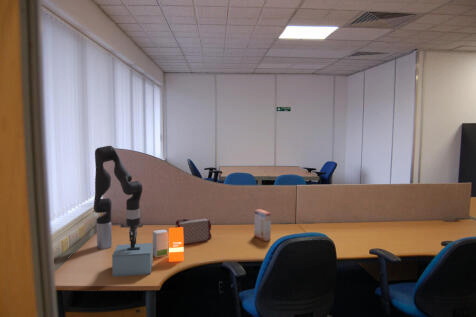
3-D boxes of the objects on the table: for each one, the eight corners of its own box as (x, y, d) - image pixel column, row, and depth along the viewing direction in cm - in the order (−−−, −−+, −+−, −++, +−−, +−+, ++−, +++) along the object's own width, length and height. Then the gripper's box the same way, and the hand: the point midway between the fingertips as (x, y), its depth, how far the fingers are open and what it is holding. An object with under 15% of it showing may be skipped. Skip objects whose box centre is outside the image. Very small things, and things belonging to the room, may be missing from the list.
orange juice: (168, 256, 198) (168, 226, 196) (182, 255, 200) (182, 225, 198) (169, 261, 190) (168, 229, 188) (183, 260, 192) (183, 229, 190)
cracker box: (270, 240, 231) (271, 212, 229) (264, 241, 228) (264, 213, 226) (260, 234, 243) (261, 208, 242) (253, 235, 240) (254, 209, 239)
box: (117, 264, 185) (117, 244, 184) (152, 262, 189) (152, 243, 188) (112, 276, 170) (112, 255, 169) (150, 274, 174) (150, 253, 173)
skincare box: (155, 258, 196) (155, 233, 194) (152, 254, 201) (151, 231, 200) (168, 255, 201) (168, 231, 199) (164, 251, 206) (164, 228, 205)
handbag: (208, 236, 239) (209, 213, 237) (214, 240, 230) (215, 217, 228) (173, 241, 225) (173, 218, 223) (178, 246, 216) (178, 222, 214)
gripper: (128, 213, 183) (128, 241, 185) (124, 220, 169) (124, 250, 171) (141, 213, 185) (141, 241, 186) (138, 219, 171) (138, 250, 172)
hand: (133, 245), depth 178 cm, fingers open, 5 cm apart
